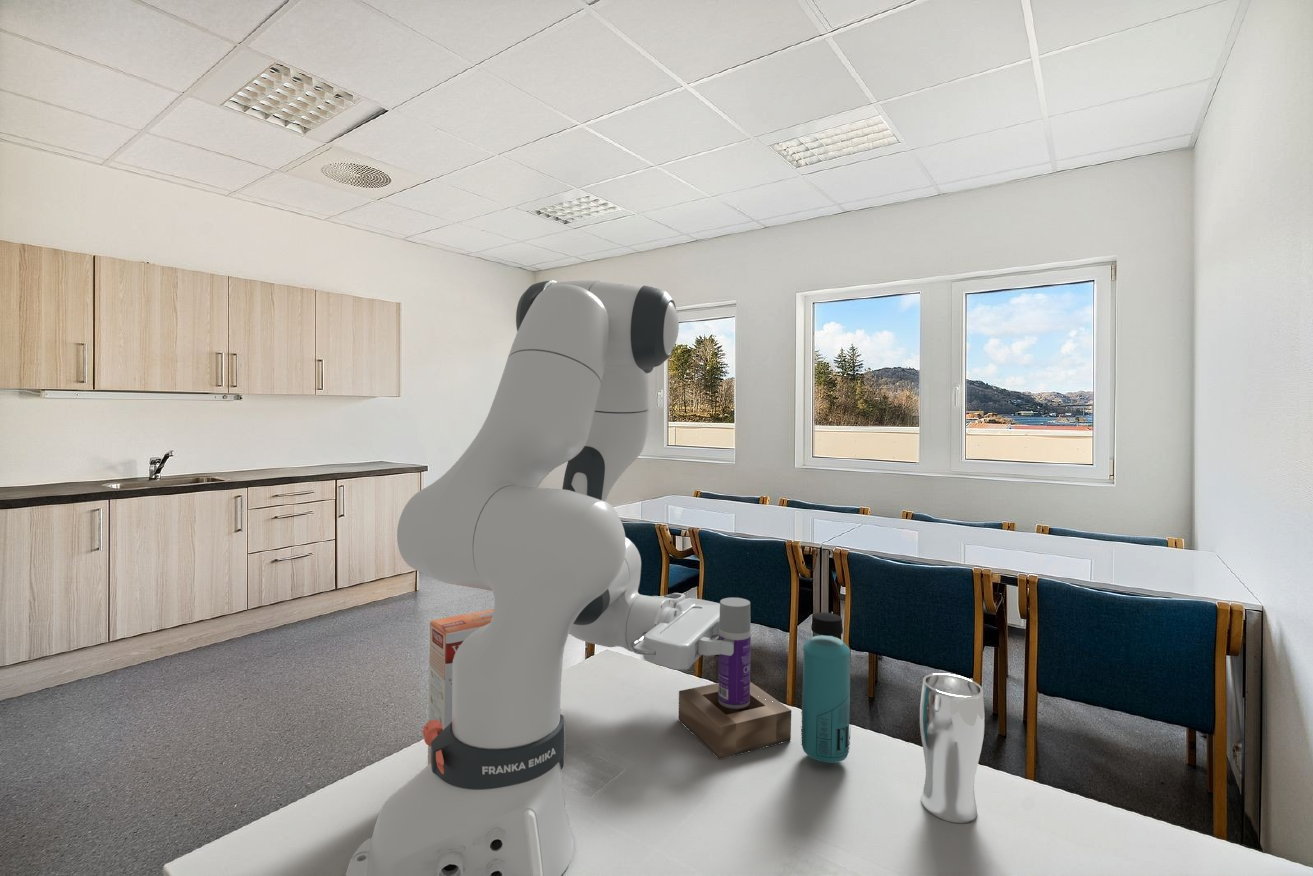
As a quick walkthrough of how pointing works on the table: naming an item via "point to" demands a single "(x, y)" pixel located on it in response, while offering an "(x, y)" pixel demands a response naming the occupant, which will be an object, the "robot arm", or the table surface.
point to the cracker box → (448, 660)
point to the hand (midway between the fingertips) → (740, 641)
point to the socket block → (734, 721)
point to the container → (735, 653)
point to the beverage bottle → (826, 691)
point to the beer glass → (951, 744)
